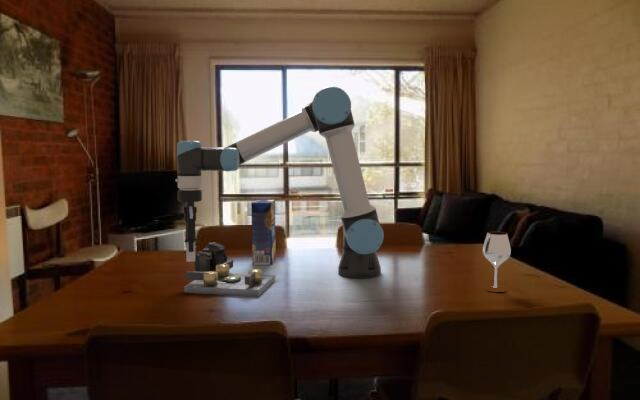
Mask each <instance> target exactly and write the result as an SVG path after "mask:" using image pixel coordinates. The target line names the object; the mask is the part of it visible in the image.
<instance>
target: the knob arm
mask: <svg viewBox="0 0 640 400" xmlns="http://www.w3.org/2000/svg"><path fill="white" fill-rule="evenodd" d="M247 274H248V275H246V276H245V285H250V284H251V283H252V282H261V281H262V274H263V270H262V269H261V268H260V269H259V268H251V269H249V270H248V271H247Z"/></svg>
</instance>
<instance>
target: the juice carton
mask: <svg viewBox="0 0 640 400" xmlns="http://www.w3.org/2000/svg"><path fill="white" fill-rule="evenodd" d="M250 205H251V210H250V211H251V249H252V250H251V251H252V256H251V257H252V266H272V265H273V263H274V262H275V260H276V258H277V256H276V255H277V254H276V253H277V251H276V246H277V245H276V243H277V242H276V199H256V200H254V201H252V202H251V204H250Z"/></svg>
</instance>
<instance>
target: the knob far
mask: <svg viewBox="0 0 640 400" xmlns="http://www.w3.org/2000/svg"><path fill="white" fill-rule="evenodd" d="M232 268H234V260H233V259H229V260H228V259H227V262H225V263H223V264H219V265H216V270H215V271H216V272H218V276H219V277H224V276H228V275H229V273H230V270H231V269H232Z"/></svg>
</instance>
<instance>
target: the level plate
mask: <svg viewBox="0 0 640 400" xmlns="http://www.w3.org/2000/svg"><path fill="white" fill-rule="evenodd" d="M246 275H248V273H240V272H239V273H238V272H237V273H235V272H229V275H228V276H224V277H219V276H218V283H217V284H214V285H205V284H204V280H191V282H189V283H187V284H186V285H185V286H183V289H184V294H186V293H187V294H202V295H203V294H204V295H205V294H206V295H219V296H220V295H222V296H223V295H224V296H241V297H242V296H243V297H258V298H259V297H260V296H261V295H262V294H263V293H264V292H265V291H266V290H268V288H270V286H271V285H272V284H274V282H276V275H275V274H263V273H262V281H261V282H252V283H251V284H250V285H245V276H246Z"/></svg>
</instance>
